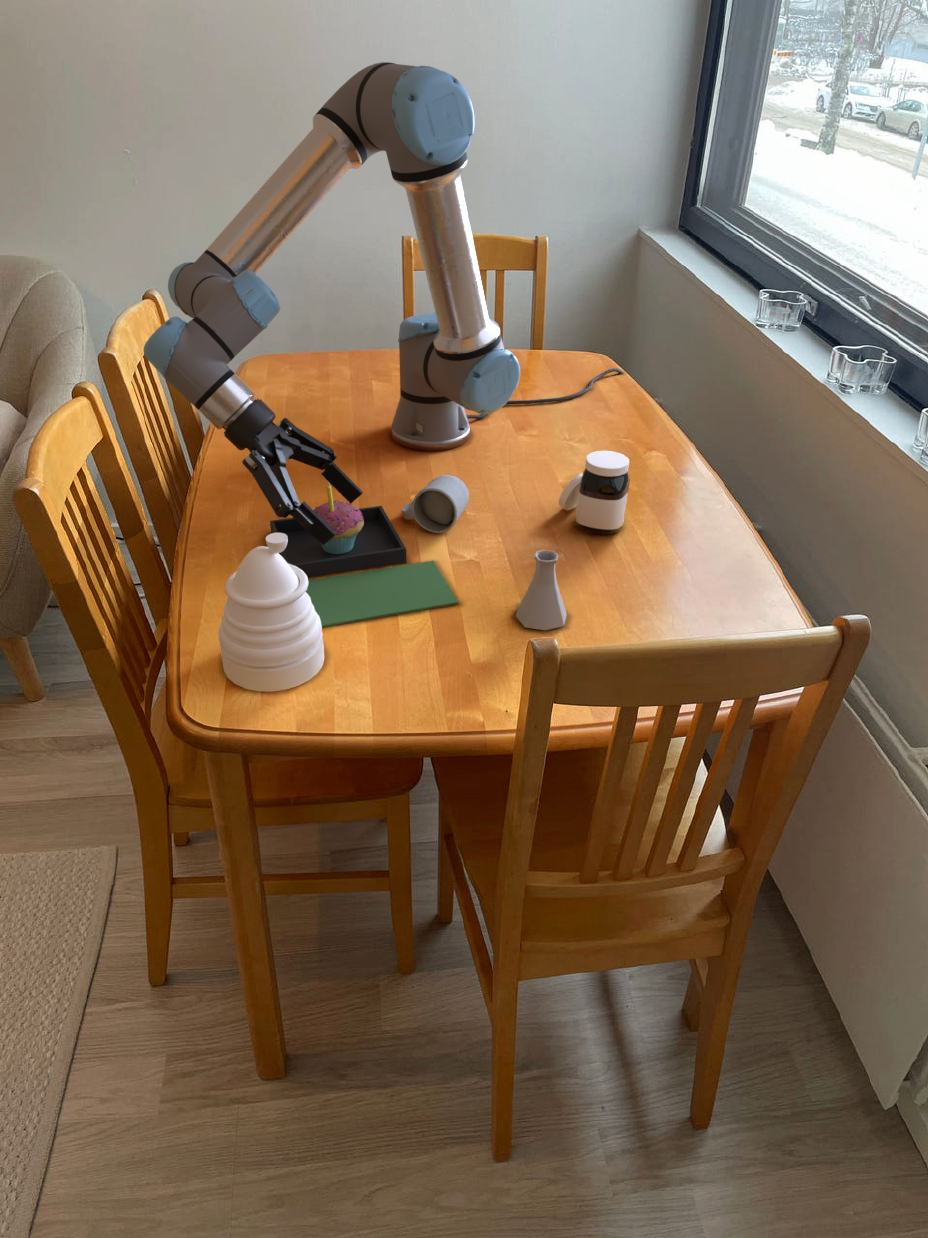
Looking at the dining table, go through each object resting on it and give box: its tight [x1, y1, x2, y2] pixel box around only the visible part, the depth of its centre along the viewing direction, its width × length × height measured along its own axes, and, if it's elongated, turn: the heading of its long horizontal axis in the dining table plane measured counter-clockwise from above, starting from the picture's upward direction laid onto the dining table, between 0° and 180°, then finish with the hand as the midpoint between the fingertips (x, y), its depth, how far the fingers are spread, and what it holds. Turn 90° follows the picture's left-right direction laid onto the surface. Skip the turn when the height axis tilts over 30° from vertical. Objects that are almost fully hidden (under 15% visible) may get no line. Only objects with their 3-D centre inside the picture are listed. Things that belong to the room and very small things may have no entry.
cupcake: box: [313, 481, 364, 554], centre depth 138 cm, size 9×8×12 cm
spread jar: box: [558, 450, 631, 536], centre depth 148 cm, size 12×11×12 cm
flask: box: [515, 549, 568, 631], centre depth 125 cm, size 7×7×10 cm
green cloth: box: [306, 560, 459, 628], centre depth 131 cm, size 20×12×1 cm, turn 109°
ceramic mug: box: [401, 474, 470, 534], centre depth 148 cm, size 11×8×8 cm
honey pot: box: [218, 533, 325, 693], centre depth 113 cm, size 13×13×18 cm
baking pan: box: [269, 505, 407, 579], centre depth 141 cm, size 18×15×2 cm
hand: (344, 518), depth 139 cm, fingers open, 13 cm apart
